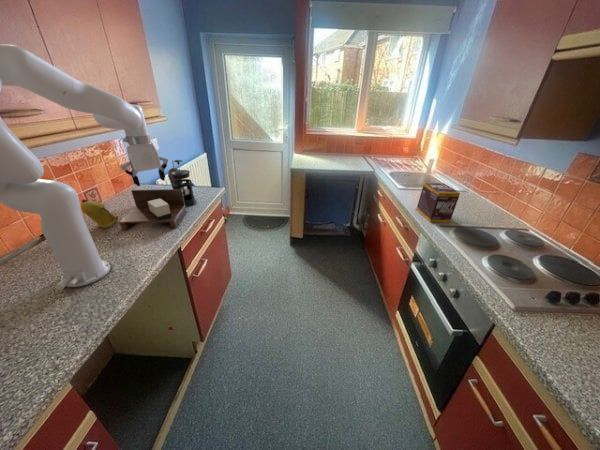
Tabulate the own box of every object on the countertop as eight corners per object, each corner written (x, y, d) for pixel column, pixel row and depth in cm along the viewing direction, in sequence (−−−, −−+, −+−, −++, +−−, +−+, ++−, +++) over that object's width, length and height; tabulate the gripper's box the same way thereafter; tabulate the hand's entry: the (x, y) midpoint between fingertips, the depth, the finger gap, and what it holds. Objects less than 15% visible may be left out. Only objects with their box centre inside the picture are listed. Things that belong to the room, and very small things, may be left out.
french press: (184, 198, 139) (175, 157, 128) (199, 200, 137) (192, 158, 126) (171, 207, 128) (160, 162, 117) (187, 208, 127) (178, 164, 116)
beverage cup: (183, 191, 148) (176, 157, 138) (187, 195, 143) (181, 160, 133) (170, 194, 144) (162, 159, 134) (174, 198, 139) (166, 162, 129)
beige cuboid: (171, 216, 110) (168, 204, 107) (159, 220, 107) (155, 207, 104) (160, 208, 117) (157, 196, 114) (148, 211, 114) (145, 199, 111)
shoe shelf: (176, 228, 109) (170, 203, 104) (122, 230, 106) (112, 204, 101) (186, 211, 124) (181, 189, 118) (139, 213, 121) (132, 189, 116)
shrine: (105, 234, 103) (92, 200, 96) (86, 232, 104) (72, 199, 96) (124, 221, 113) (113, 190, 106) (107, 220, 114) (95, 189, 106)
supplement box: (429, 222, 122) (439, 192, 114) (416, 209, 135) (423, 182, 128) (450, 222, 122) (461, 193, 115) (434, 209, 136) (443, 182, 128)
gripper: (115, 144, 88) (130, 190, 96) (166, 138, 99) (175, 180, 107) (109, 141, 92) (124, 185, 100) (158, 136, 103) (168, 176, 112)
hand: (150, 182), depth 104 cm, fingers open, 9 cm apart
